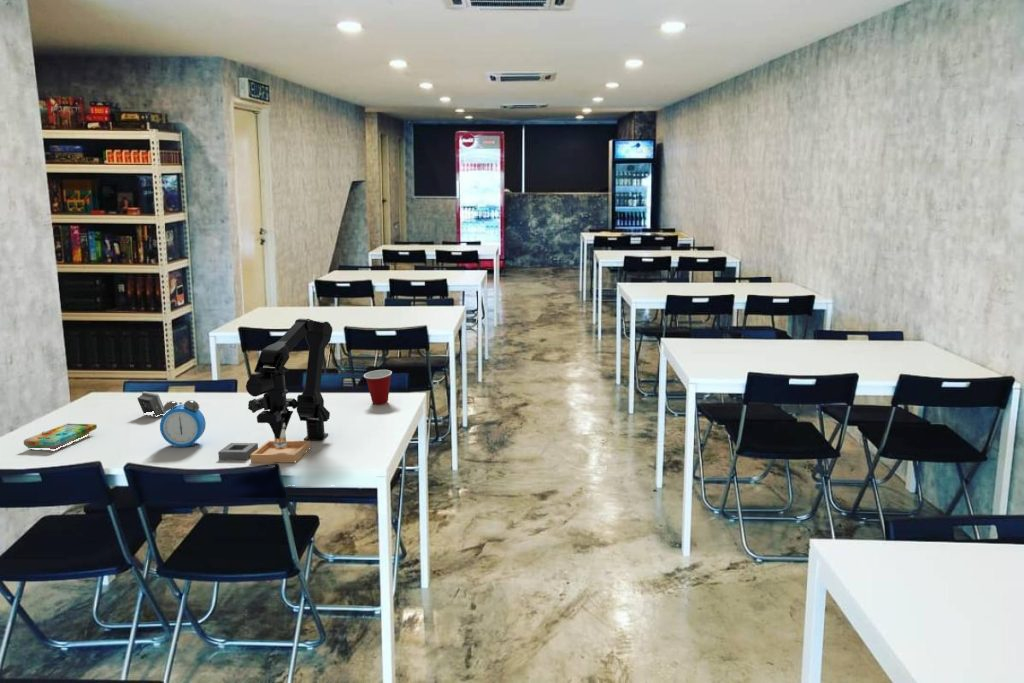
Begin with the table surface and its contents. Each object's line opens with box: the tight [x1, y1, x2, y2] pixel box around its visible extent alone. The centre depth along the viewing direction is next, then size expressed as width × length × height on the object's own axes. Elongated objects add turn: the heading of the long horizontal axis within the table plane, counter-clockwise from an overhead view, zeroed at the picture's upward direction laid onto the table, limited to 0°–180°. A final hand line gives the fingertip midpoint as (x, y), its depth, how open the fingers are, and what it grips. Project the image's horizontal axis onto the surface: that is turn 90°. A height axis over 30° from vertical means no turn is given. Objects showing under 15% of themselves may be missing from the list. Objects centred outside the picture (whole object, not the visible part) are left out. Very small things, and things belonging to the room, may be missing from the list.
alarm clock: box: [159, 399, 207, 448], centre depth 273 cm, size 13×6×15 cm, turn 93°
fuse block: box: [217, 442, 259, 461], centre depth 262 cm, size 9×9×2 cm
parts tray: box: [250, 440, 311, 464], centre depth 260 cm, size 14×14×2 cm
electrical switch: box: [136, 391, 167, 416], centre depth 310 cm, size 9×5×9 cm, turn 57°
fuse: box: [273, 422, 287, 450], centre depth 259 cm, size 4×4×8 cm
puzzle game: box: [23, 422, 98, 449], centre depth 281 cm, size 12×5×20 cm
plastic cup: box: [363, 369, 393, 406], centre depth 318 cm, size 11×11×12 cm
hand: (280, 436), depth 259 cm, fingers closed on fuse, 3 cm apart
